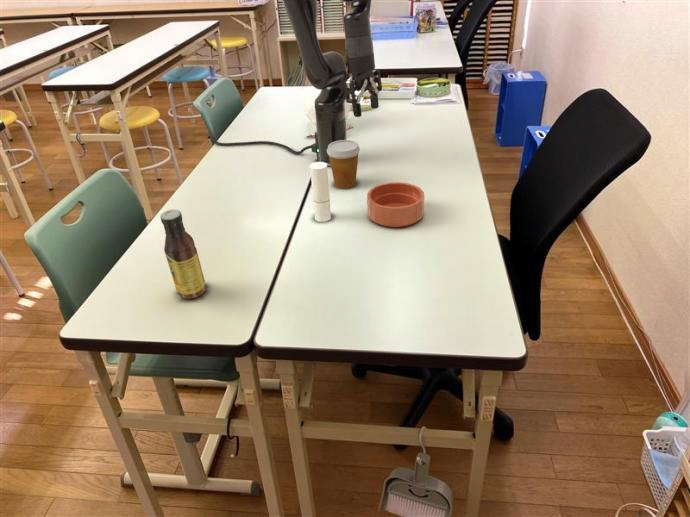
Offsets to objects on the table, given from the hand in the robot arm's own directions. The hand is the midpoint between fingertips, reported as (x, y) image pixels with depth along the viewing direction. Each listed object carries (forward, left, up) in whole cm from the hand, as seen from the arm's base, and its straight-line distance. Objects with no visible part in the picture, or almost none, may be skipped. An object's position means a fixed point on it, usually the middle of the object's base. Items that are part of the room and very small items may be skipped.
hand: (366, 112), depth 150 cm
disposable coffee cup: (-1, -10, -19) cm, 22 cm away
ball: (-35, +22, -19) cm, 45 cm away
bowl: (+22, -17, -19) cm, 34 cm away
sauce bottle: (+5, -70, -19) cm, 73 cm away
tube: (+7, -29, -19) cm, 36 cm away
